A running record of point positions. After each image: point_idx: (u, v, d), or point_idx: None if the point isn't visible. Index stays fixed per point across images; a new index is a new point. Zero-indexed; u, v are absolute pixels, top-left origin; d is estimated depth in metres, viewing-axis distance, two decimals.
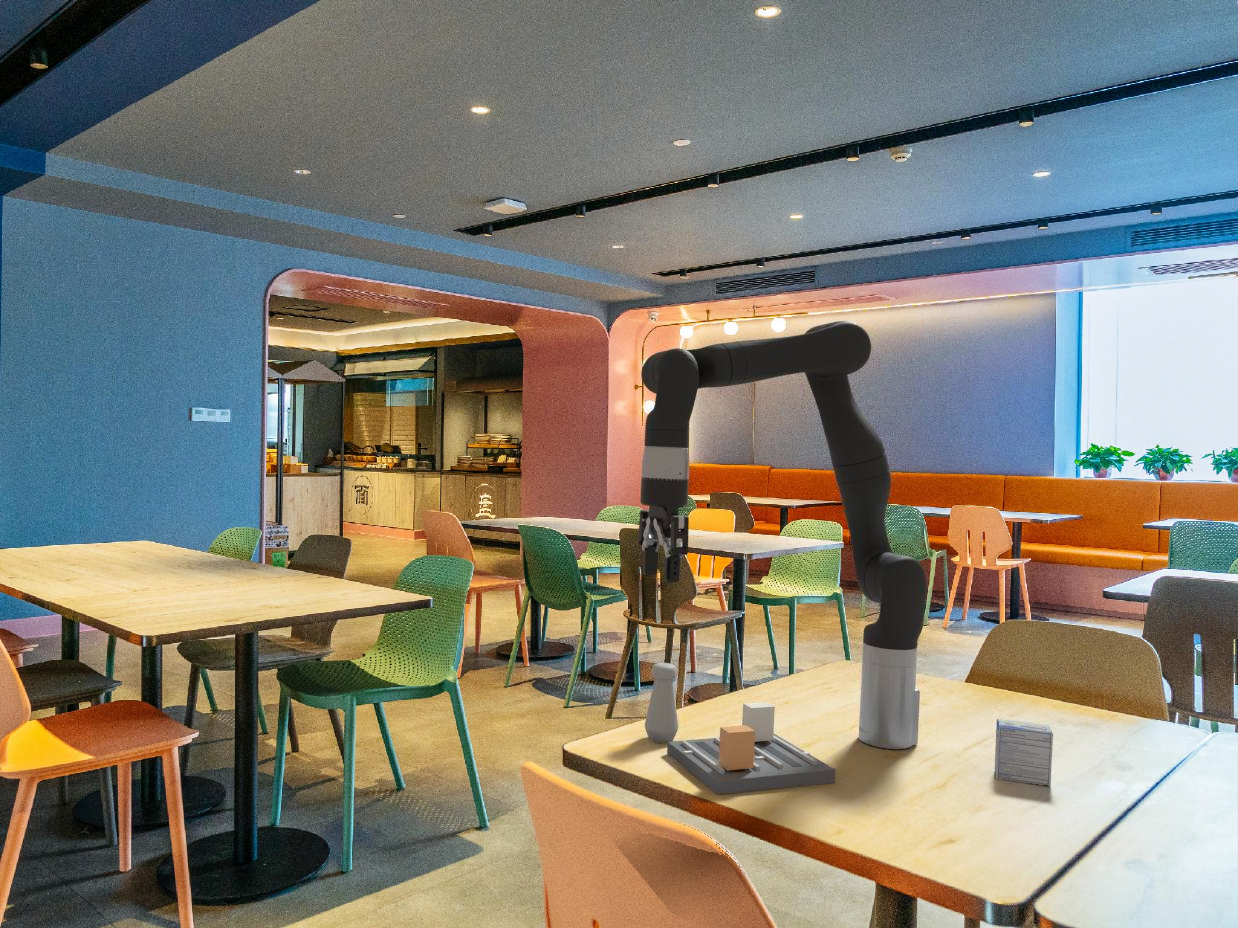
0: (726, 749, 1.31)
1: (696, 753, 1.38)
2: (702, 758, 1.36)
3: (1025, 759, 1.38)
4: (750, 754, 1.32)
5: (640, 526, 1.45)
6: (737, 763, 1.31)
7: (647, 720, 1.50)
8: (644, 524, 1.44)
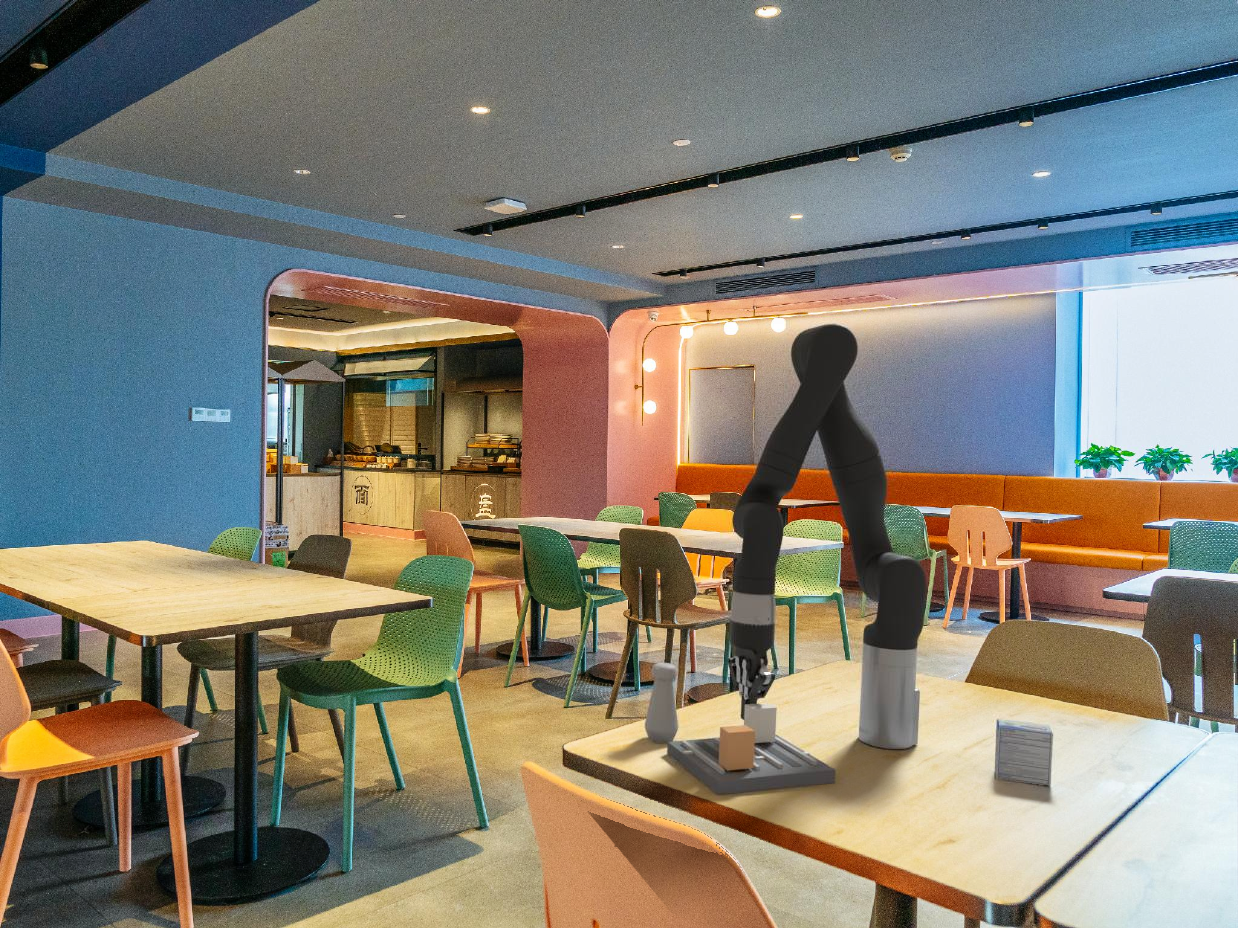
0: (726, 749, 1.31)
1: (696, 753, 1.38)
2: (702, 758, 1.36)
3: (1025, 759, 1.38)
4: (750, 754, 1.32)
5: (732, 672, 1.53)
6: (737, 763, 1.31)
7: (647, 720, 1.50)
8: (735, 669, 1.53)
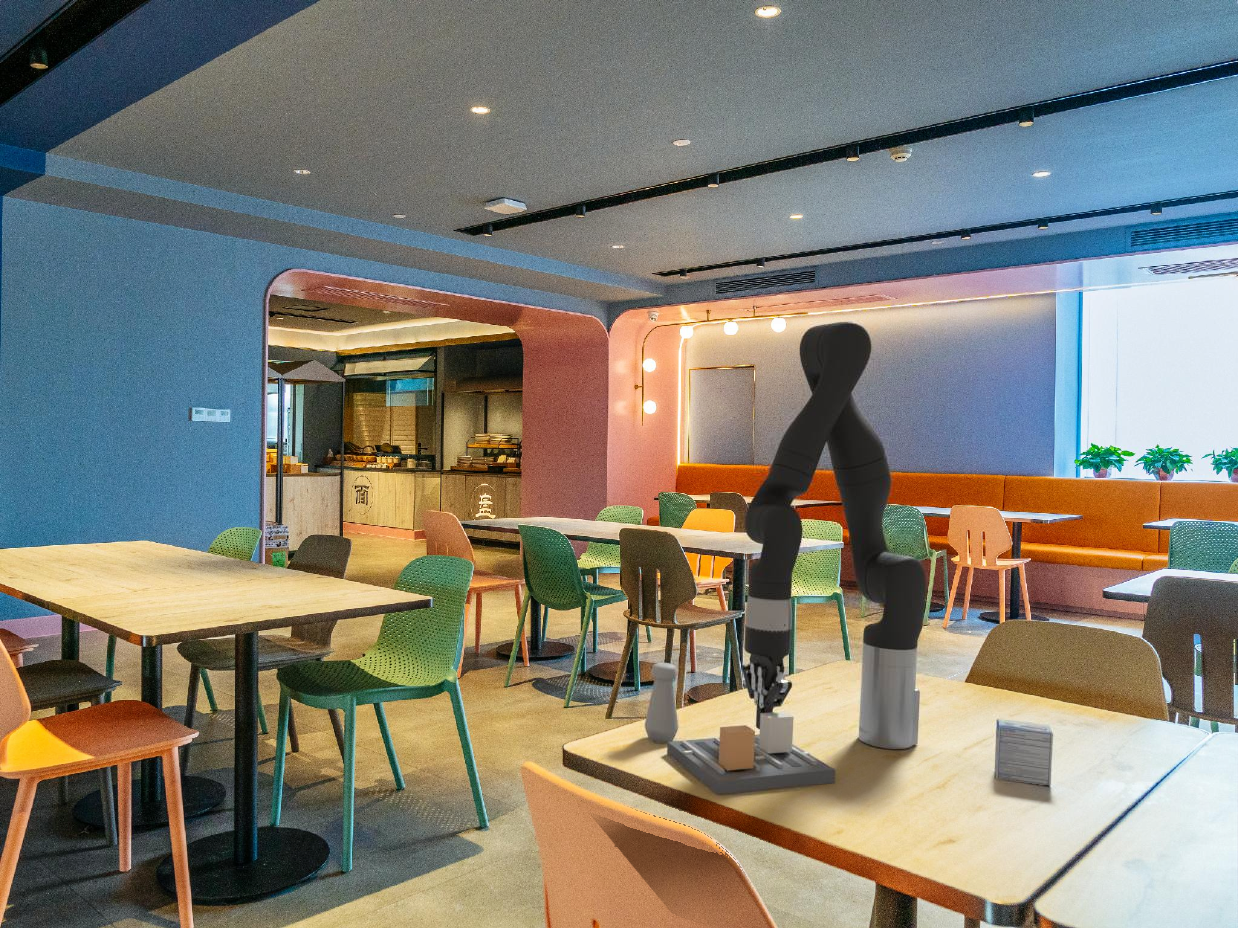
0: (726, 749, 1.31)
1: (696, 753, 1.38)
2: (702, 758, 1.36)
3: (1025, 759, 1.38)
4: (750, 754, 1.32)
5: (746, 680, 1.48)
6: (737, 763, 1.31)
7: (647, 720, 1.50)
8: (749, 676, 1.48)
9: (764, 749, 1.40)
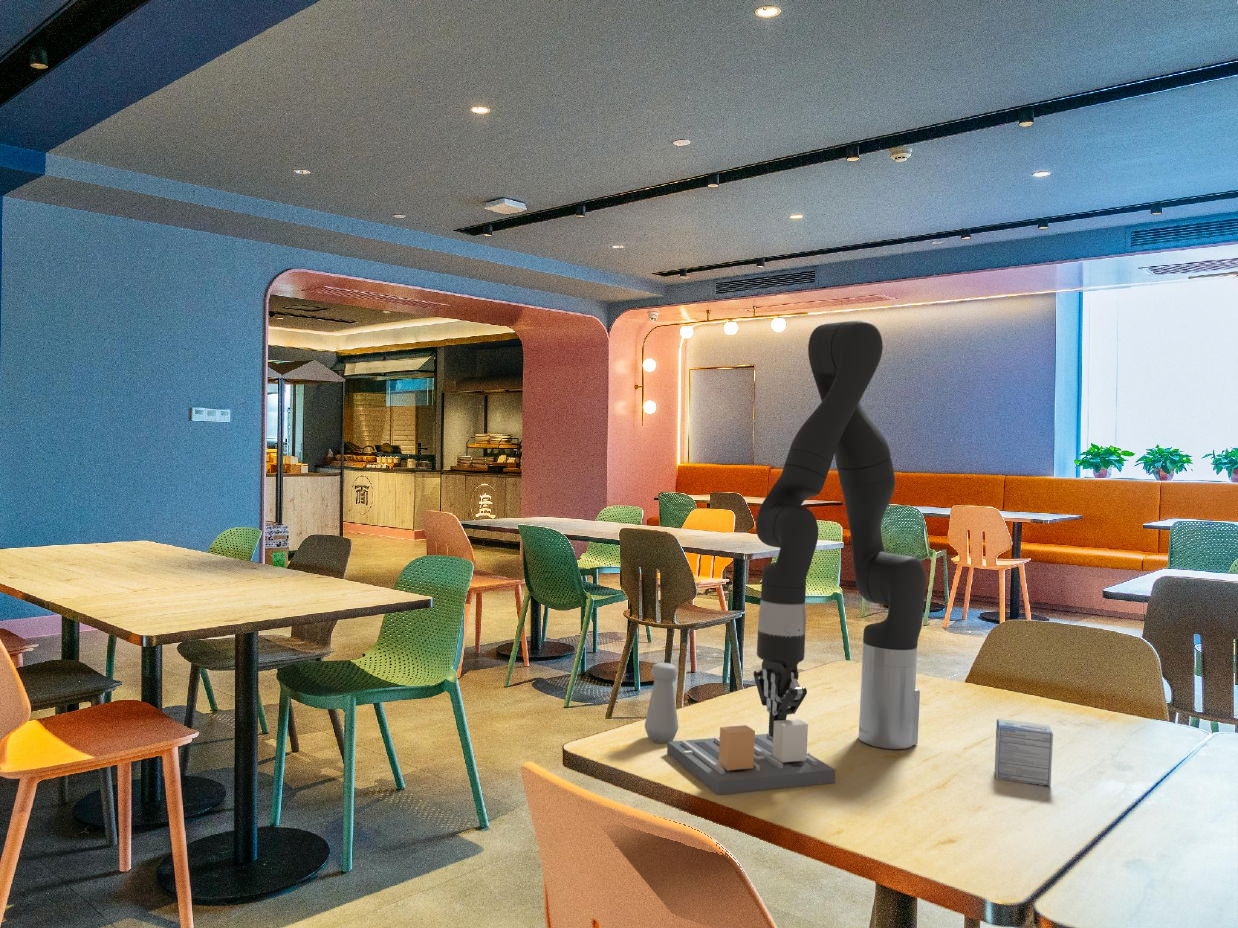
0: (726, 749, 1.31)
1: (696, 753, 1.38)
2: (702, 758, 1.36)
3: (1025, 759, 1.38)
4: (750, 754, 1.32)
5: (758, 686, 1.44)
6: (737, 763, 1.31)
7: (647, 720, 1.50)
8: (762, 682, 1.44)
9: (778, 758, 1.36)
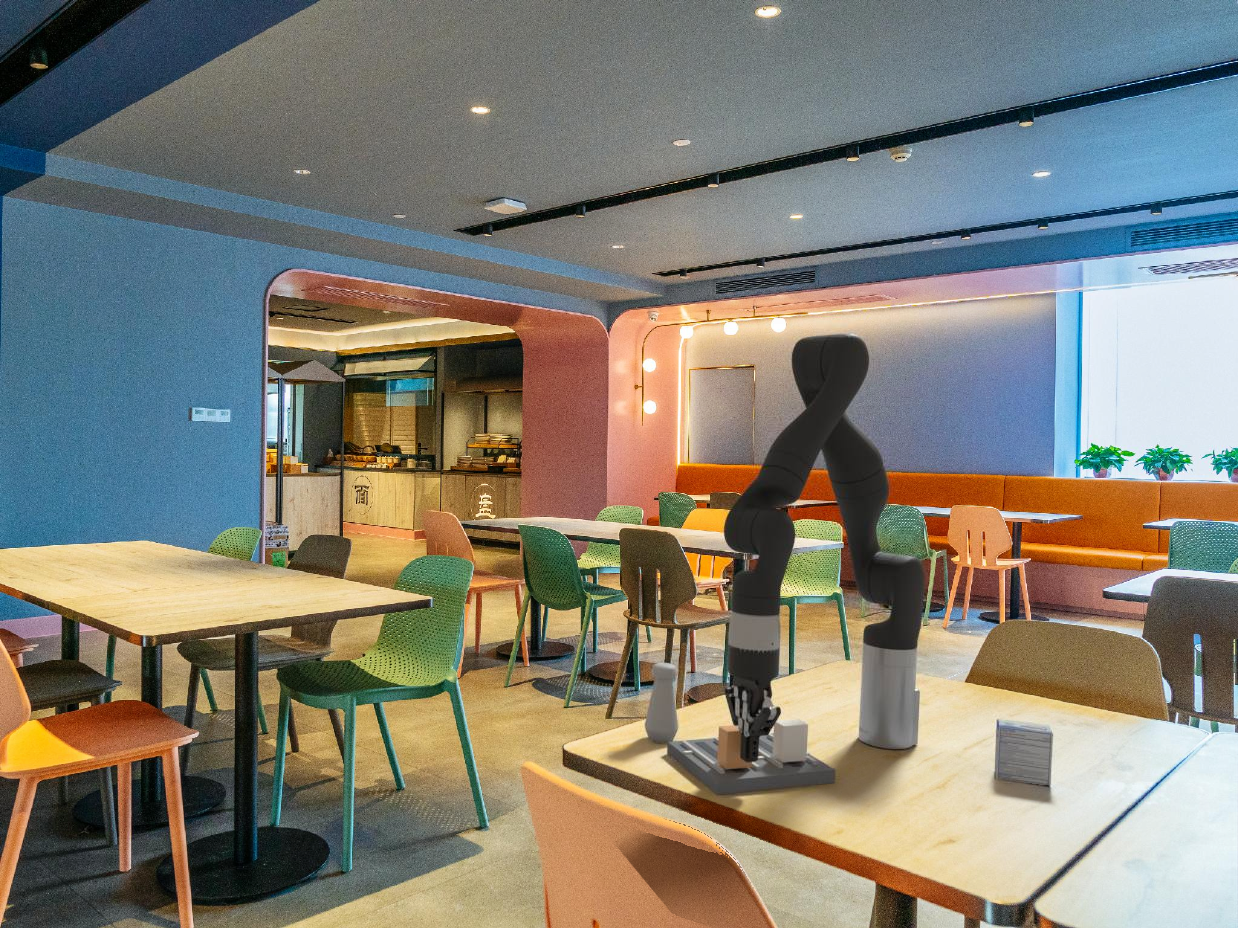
0: (725, 748, 1.31)
1: (696, 753, 1.38)
2: (702, 758, 1.36)
3: (1025, 759, 1.38)
4: None
5: (730, 704, 1.33)
6: (736, 762, 1.32)
7: (647, 720, 1.50)
8: (733, 700, 1.33)
9: (778, 758, 1.36)
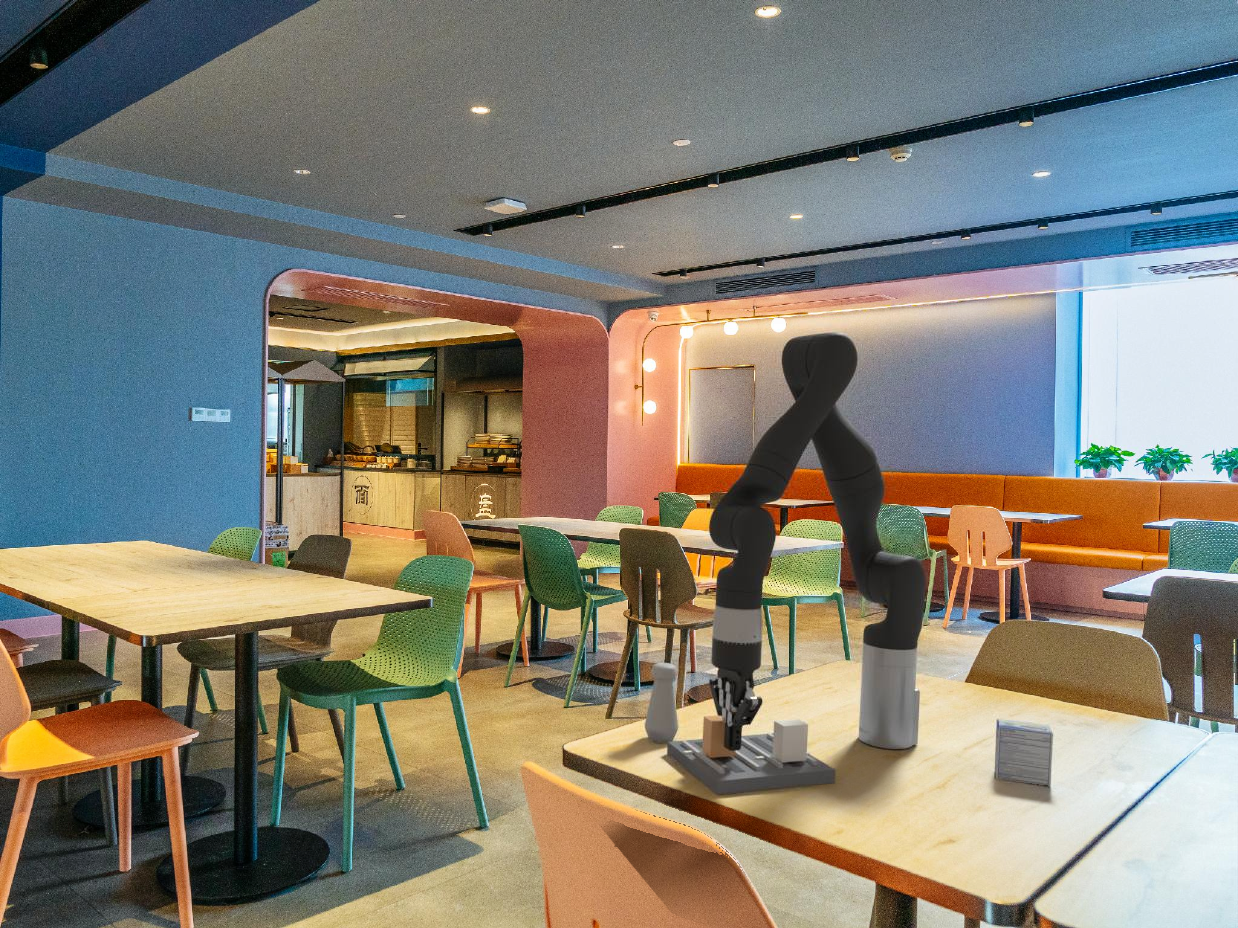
0: (709, 737, 1.36)
1: (696, 753, 1.38)
2: (702, 758, 1.36)
3: (1025, 759, 1.38)
4: None
5: (714, 695, 1.38)
6: (720, 751, 1.36)
7: (647, 720, 1.50)
8: (717, 691, 1.38)
9: (778, 758, 1.36)
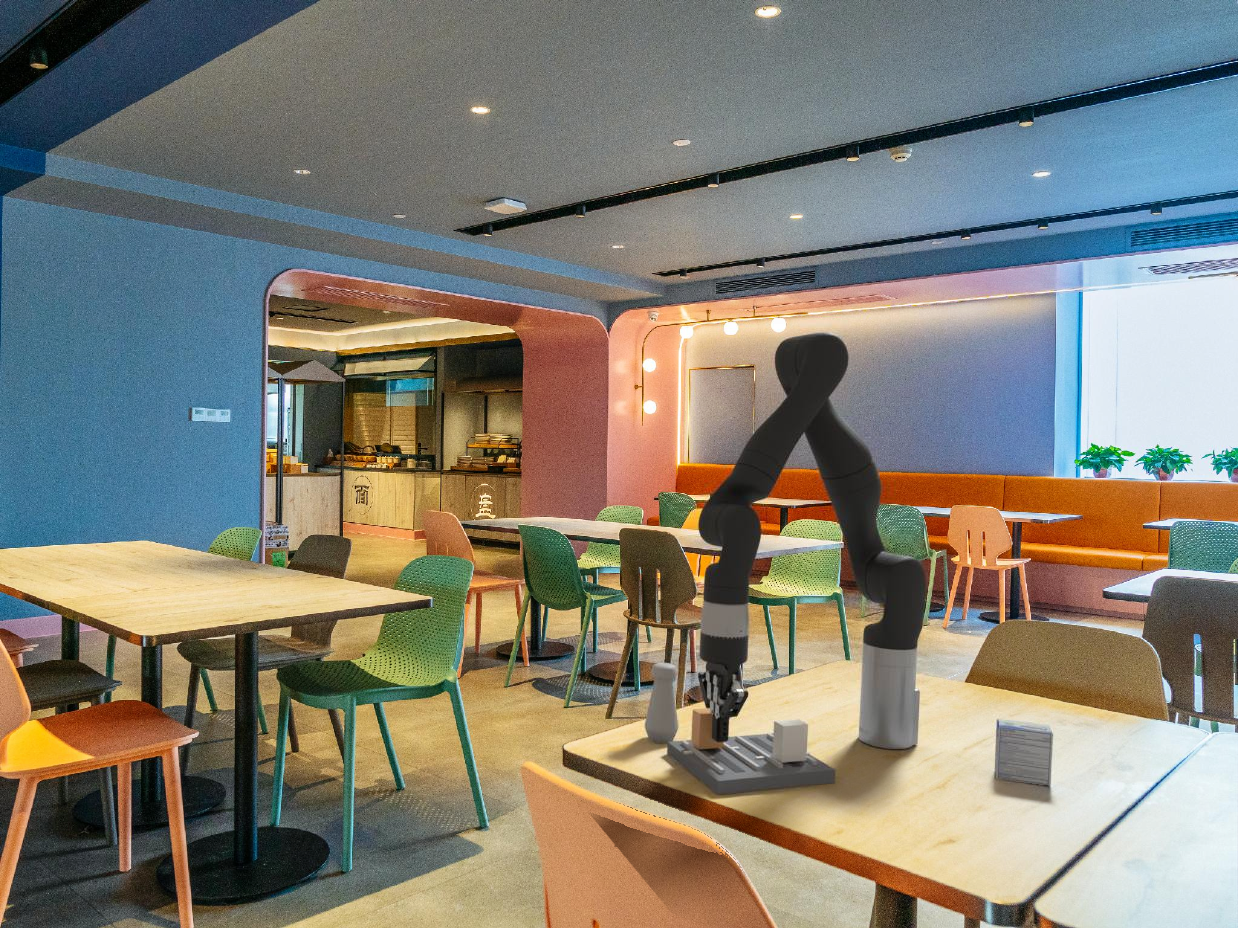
0: (698, 729, 1.40)
1: (696, 753, 1.38)
2: (702, 758, 1.36)
3: (1025, 759, 1.38)
4: None
5: (702, 689, 1.41)
6: (708, 743, 1.40)
7: (647, 720, 1.50)
8: (706, 684, 1.41)
9: (778, 758, 1.36)
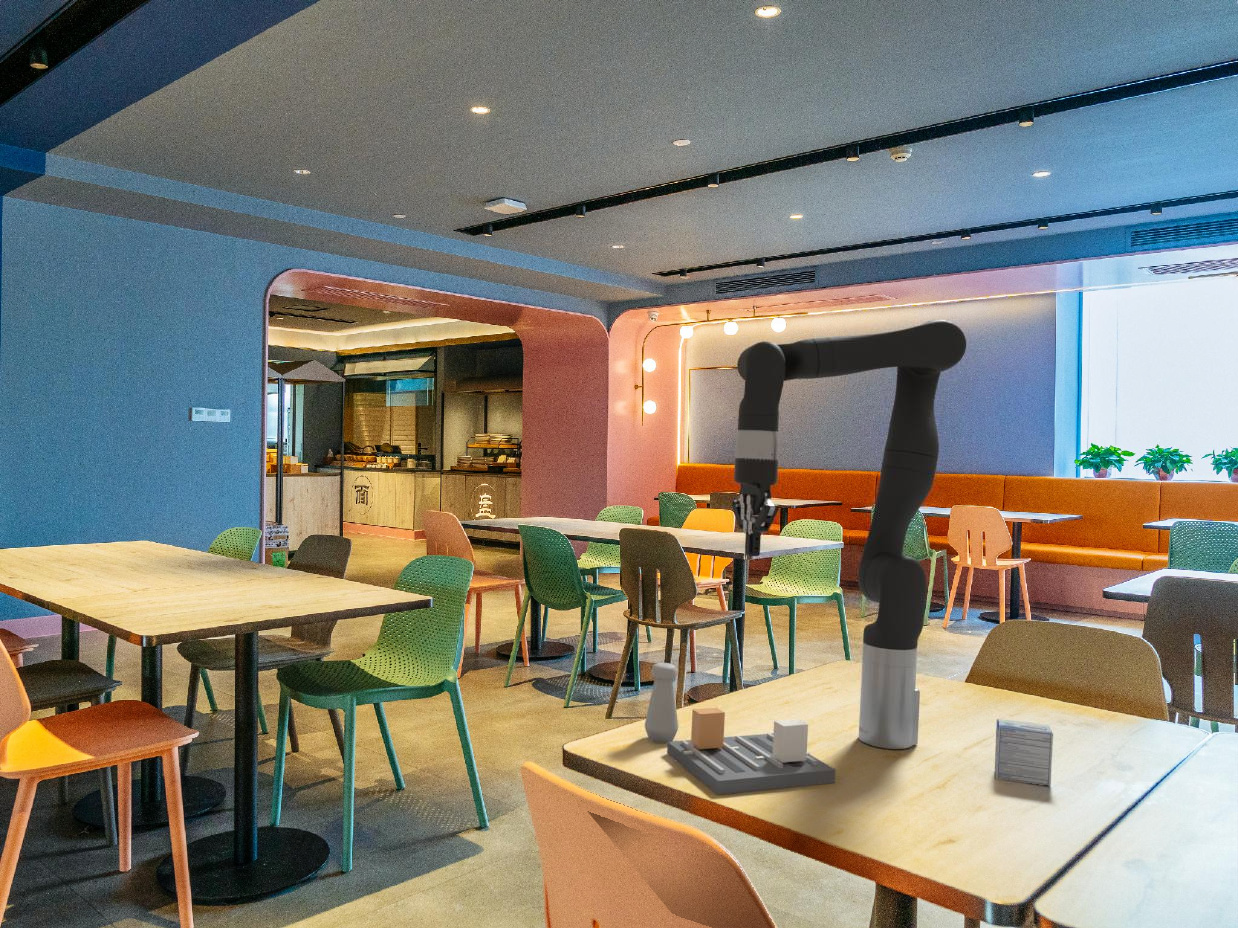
0: (698, 729, 1.40)
1: (696, 753, 1.38)
2: (702, 758, 1.36)
3: (1025, 759, 1.38)
4: (720, 734, 1.41)
5: (736, 513, 1.58)
6: (708, 743, 1.40)
7: (647, 720, 1.50)
8: (739, 509, 1.58)
9: (778, 758, 1.36)
